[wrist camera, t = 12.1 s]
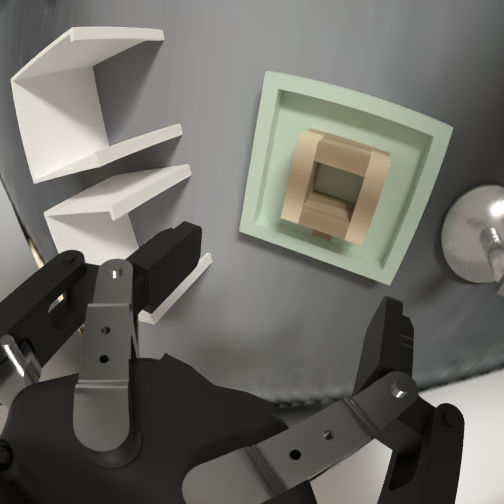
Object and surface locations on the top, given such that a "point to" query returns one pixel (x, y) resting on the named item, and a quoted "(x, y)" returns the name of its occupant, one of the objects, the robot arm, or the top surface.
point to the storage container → (90, 148)
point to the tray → (340, 181)
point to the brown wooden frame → (326, 206)
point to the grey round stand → (476, 235)
